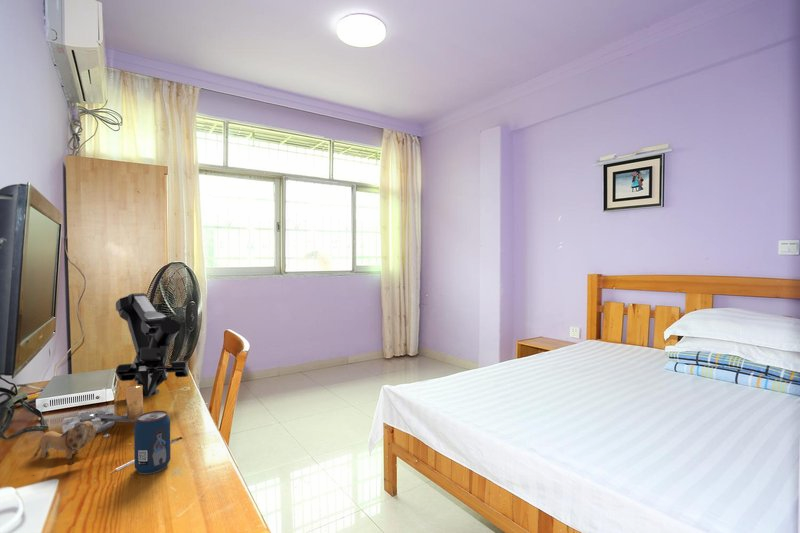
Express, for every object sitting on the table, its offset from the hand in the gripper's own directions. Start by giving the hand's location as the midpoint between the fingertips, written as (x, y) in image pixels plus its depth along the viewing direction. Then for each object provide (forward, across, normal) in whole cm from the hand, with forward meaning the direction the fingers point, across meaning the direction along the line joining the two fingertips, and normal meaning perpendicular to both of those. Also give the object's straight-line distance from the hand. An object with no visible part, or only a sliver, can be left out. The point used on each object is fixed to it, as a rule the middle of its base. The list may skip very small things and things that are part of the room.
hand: (147, 396), depth 116 cm
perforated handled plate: (+9, -8, -2) cm, 12 cm away
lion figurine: (+20, -11, -10) cm, 25 cm away
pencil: (+22, +7, -12) cm, 26 cm away
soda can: (+26, +10, -17) cm, 33 cm away
